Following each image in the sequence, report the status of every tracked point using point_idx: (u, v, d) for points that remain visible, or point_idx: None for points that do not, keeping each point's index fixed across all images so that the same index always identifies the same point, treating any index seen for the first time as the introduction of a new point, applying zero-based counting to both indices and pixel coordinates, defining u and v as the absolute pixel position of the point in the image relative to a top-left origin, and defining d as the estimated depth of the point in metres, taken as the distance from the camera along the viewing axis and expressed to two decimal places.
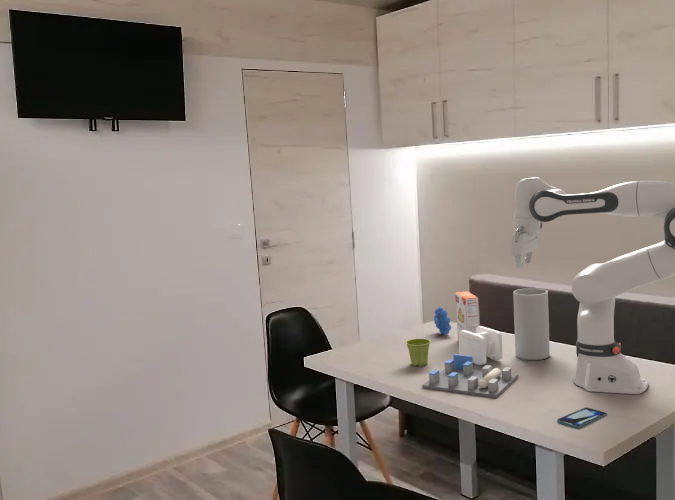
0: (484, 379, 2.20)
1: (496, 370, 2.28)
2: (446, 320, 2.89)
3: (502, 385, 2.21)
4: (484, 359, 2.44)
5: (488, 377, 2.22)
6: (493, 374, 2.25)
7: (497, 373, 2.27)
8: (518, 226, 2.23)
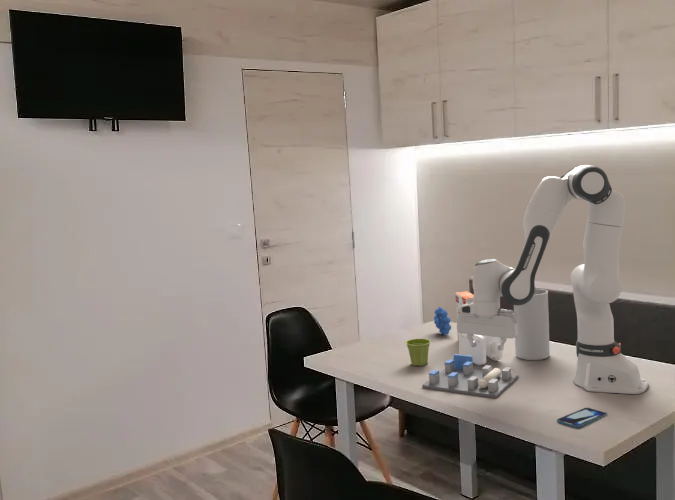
0: (484, 379, 2.20)
1: (496, 370, 2.28)
2: (446, 320, 2.89)
3: (502, 385, 2.21)
4: (484, 359, 2.44)
5: (488, 377, 2.22)
6: (493, 374, 2.25)
7: (497, 373, 2.27)
8: (497, 309, 2.19)
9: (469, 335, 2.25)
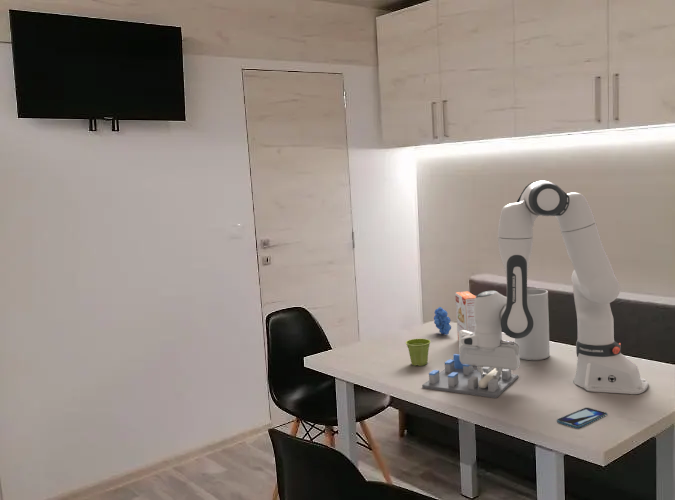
0: (484, 379, 2.20)
1: None
2: (446, 320, 2.89)
3: (502, 385, 2.21)
4: None
5: (488, 377, 2.22)
6: (493, 374, 2.25)
7: None
8: (499, 341, 2.20)
9: (479, 367, 2.25)
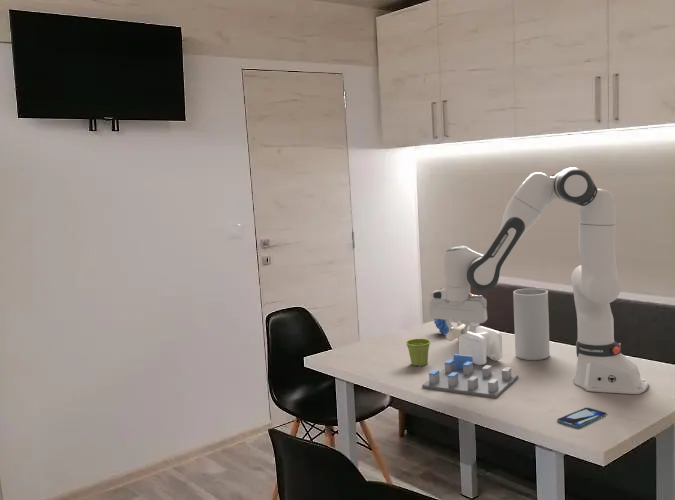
0: (452, 332, 2.23)
1: (464, 325, 2.32)
2: None
3: (502, 385, 2.21)
4: (484, 359, 2.44)
5: (456, 330, 2.25)
6: (461, 328, 2.28)
7: None
8: (467, 295, 2.23)
9: (447, 321, 2.29)
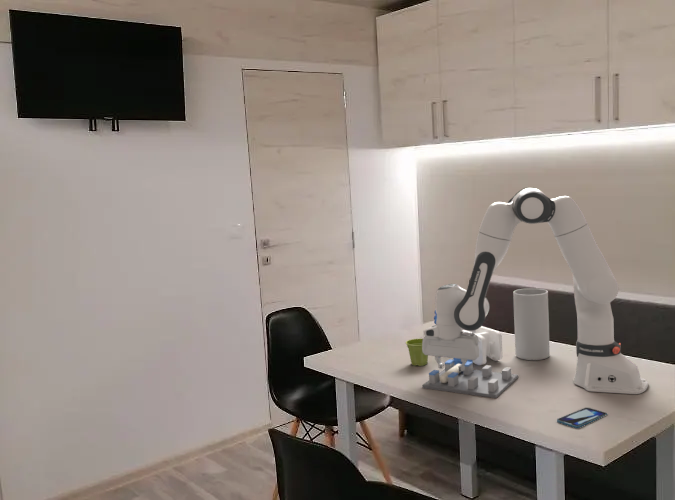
0: (445, 374, 2.27)
1: None
2: None
3: (502, 385, 2.21)
4: (484, 359, 2.44)
5: (449, 372, 2.29)
6: (455, 370, 2.32)
7: None
8: (459, 332, 2.27)
9: (436, 357, 2.34)
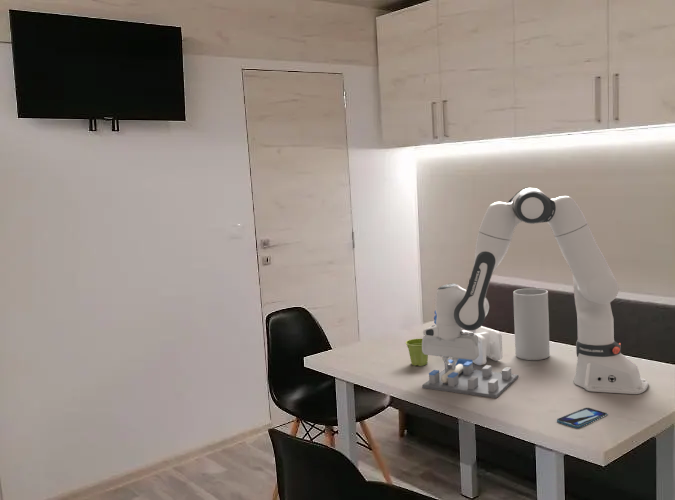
0: (447, 375, 2.27)
1: (460, 367, 2.35)
2: None
3: (502, 385, 2.21)
4: (484, 359, 2.44)
5: None
6: (457, 371, 2.32)
7: (460, 370, 2.34)
8: (458, 332, 2.27)
9: (444, 358, 2.32)
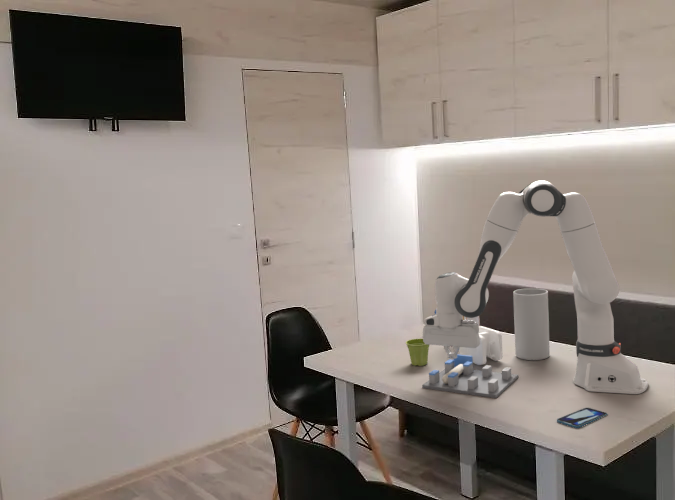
0: None
1: (462, 368, 2.35)
2: None
3: (502, 385, 2.21)
4: (484, 359, 2.44)
5: None
6: (458, 372, 2.32)
7: (462, 371, 2.34)
8: (459, 321, 2.27)
9: (445, 347, 2.32)
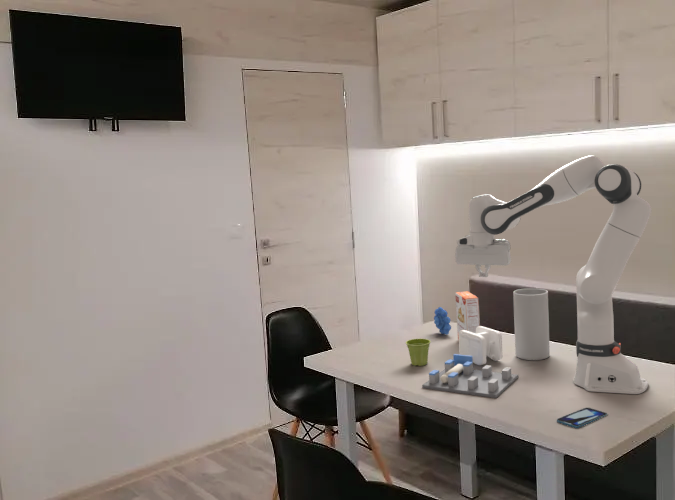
0: (447, 375, 2.27)
1: (460, 366, 2.35)
2: (446, 320, 2.89)
3: (502, 385, 2.21)
4: (484, 359, 2.44)
5: None
6: (456, 370, 2.32)
7: (460, 369, 2.35)
8: (491, 239, 2.38)
9: (477, 266, 2.43)
